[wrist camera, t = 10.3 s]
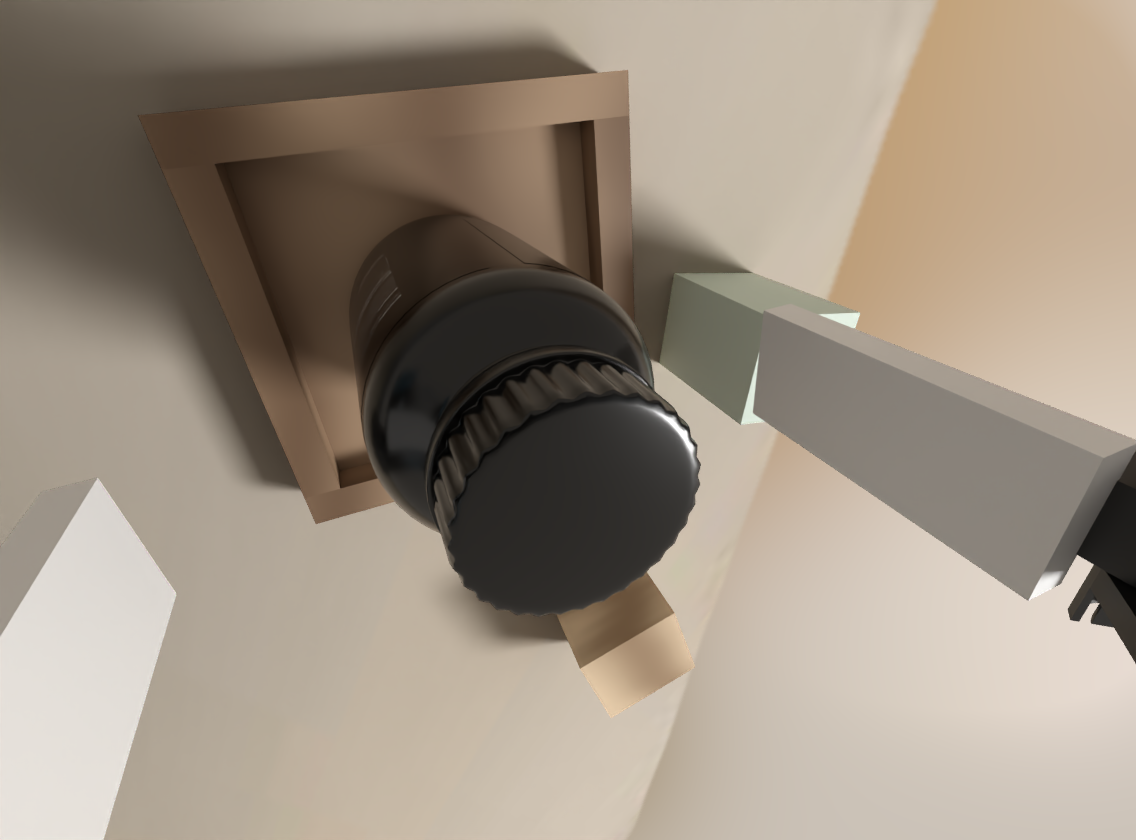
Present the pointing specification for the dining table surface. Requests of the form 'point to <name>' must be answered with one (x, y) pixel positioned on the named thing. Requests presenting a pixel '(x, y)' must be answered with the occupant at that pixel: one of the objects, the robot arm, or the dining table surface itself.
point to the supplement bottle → (516, 416)
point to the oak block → (627, 645)
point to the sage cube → (728, 333)
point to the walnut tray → (382, 224)
